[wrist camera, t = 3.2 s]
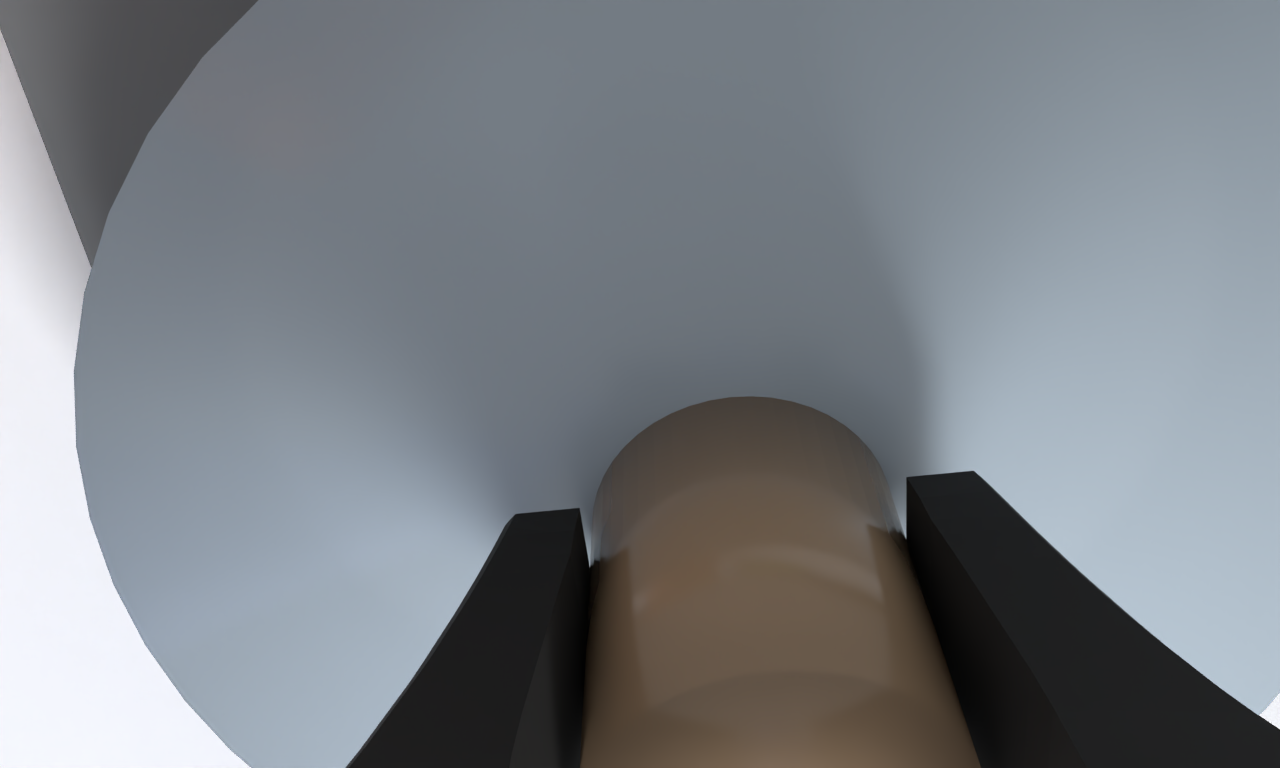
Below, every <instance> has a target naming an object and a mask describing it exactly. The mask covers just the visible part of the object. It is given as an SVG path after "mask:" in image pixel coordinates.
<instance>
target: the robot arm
mask: <svg viewBox="0 0 1280 768" xmlns="http://www.w3.org/2000/svg"><path fill="white" fill-rule="evenodd" d="M906 540H907V543H908V547H909V550H910V553H911V556H912V559H913V562H914V565H915V568H916V571H917V574H918V577H919V580H920V583H921V586H922V589H923V592H924V595H925V598H926V601H927V604H928V608H929V611H930V614H931V617H932V620H933V623H934V626H935V629H936V632H937V635H938V638H939V641H940V644H941V647H942V650H943V653H944V656H945V659H946V662H947V666H948V669H949V672H950V675H951V678H952V681H953V684H954V687H955V690H956V693H957V696H958V699H959V702H960V705H961V708H962V711H963V714H964V717H965V720H966V723H967V727H968V730H969V733H970V736H971V739H972V742H973V745H974V748H975V751H976V754H977V757H978V760H979V763H980V766H981V768H1280V729H1278V728H1277V727H1275V726H1274V725H1272V724H1271V723H1269V722H1268V721H1266V720H1265V719H1263V718H1262V717H1260V716H1259V715H1257V714H1256V713H1254V712H1253V711H1252V710H1250V709H1249V708H1247V707H1246V706H1245V705H1243V704H1242V703H1240V702H1239V701H1238V700H1236V699H1235V698H1234V697H1232V696H1231V695H1229V694H1228V693H1227V692H1225V691H1224V690H1222V689H1221V688H1220V687H1218V686H1217V685H1216V684H1214V683H1213V682H1212V681H1210V680H1209V679H1208V678H1207V677H1205V676H1204V675H1203V674H1202V673H1200V672H1199V671H1198V670H1196V669H1195V668H1194V667H1193V666H1191V665H1190V664H1189V663H1187V662H1186V661H1185V660H1184V659H1182V658H1181V657H1180V656H1179V655H1177V654H1176V653H1175V652H1173V651H1172V650H1171V649H1170V648H1168V647H1167V646H1166V645H1165V644H1163V643H1162V642H1161V641H1160V640H1159V639H1157V638H1156V637H1155V636H1154V635H1153V634H1151V633H1150V632H1149V631H1148V630H1147V629H1145V628H1144V627H1143V626H1142V625H1141V624H1139V623H1138V622H1137V621H1136V620H1135V619H1134V618H1132V617H1131V616H1130V615H1129V614H1128V613H1127V612H1126V611H1124V610H1123V609H1122V608H1121V607H1120V606H1119V605H1117V604H1116V603H1115V602H1114V601H1113V600H1112V599H1111V598H1109V597H1108V596H1107V595H1106V594H1105V593H1104V592H1103V591H1101V590H1100V589H1099V588H1098V587H1097V586H1096V585H1095V584H1093V583H1092V582H1091V581H1090V580H1089V579H1088V578H1087V577H1086V576H1084V575H1083V574H1082V573H1081V572H1080V571H1079V570H1078V569H1077V568H1076V567H1075V566H1073V565H1072V564H1071V563H1070V562H1069V561H1068V560H1067V559H1066V558H1065V557H1064V556H1063V555H1062V554H1061V553H1060V552H1058V551H1057V550H1056V549H1055V548H1054V547H1053V546H1052V545H1051V544H1050V543H1049V542H1048V541H1047V540H1046V539H1045V538H1044V537H1043V536H1042V535H1040V534H1039V533H1038V532H1037V531H1036V530H1035V529H1034V528H1033V527H1032V526H1031V525H1030V524H1029V523H1028V522H1027V521H1026V520H1025V519H1024V518H1023V517H1022V516H1021V515H1020V514H1019V513H1018V512H1017V511H1016V510H1015V509H1014V508H1013V507H1012V506H1011V505H1010V504H1009V503H1008V502H1007V501H1006V500H1005V499H1004V498H1003V497H1002V496H1001V495H1000V494H999V493H998V492H996V491H995V490H994V489H993V488H992V487H991V486H990V485H989V484H988V483H987V482H986V481H985V480H984V479H983V478H982V477H981V476H979V475H978V474H977V473H976V472H975V471H965V472H954V473H943V474H933V475H922V476H911V477H906ZM589 578H590V566H589V560H588V554H587V548H586V542H585V536H584V530H583V525H582V519H581V513H580V508H572V509H561V510H551V511H540V512H530V513H519V514H515V515H514V516H513V517H512V518H511V519H510V520H509V521H508V523H507V524H506V525H505V526H504V528H503V530H502V532H501V534H500V536H499V538H498V540H497V541H496V543H495V545H494V547H493V549H492V551H491V552H490V554H489V556H488V558H487V560H486V561H485V563H484V565H483V567H482V568H481V570H480V572H479V574H478V575H477V577H476V579H475V581H474V582H473V584H472V586H471V587H470V589H469V591H468V592H467V594H466V596H465V597H464V599H463V601H462V602H461V604H460V606H459V607H458V609H457V611H456V612H455V614H454V615H453V617H452V618H451V620H450V622H449V623H448V625H447V626H446V628H445V629H444V631H443V632H442V634H441V635H440V637H439V638H438V640H437V642H436V643H435V645H434V646H433V648H432V649H431V651H430V652H429V654H428V655H427V657H426V658H425V660H424V662H423V663H422V665H421V666H420V668H419V669H418V671H417V672H416V674H415V675H414V676H413V678H412V679H411V681H410V682H409V684H408V685H407V686H406V688H405V689H404V691H403V692H402V693H401V695H400V696H399V697H398V699H397V700H396V701H395V703H394V704H393V705H392V707H391V708H390V710H389V711H388V712H387V714H386V715H385V716H384V718H383V719H382V720H381V722H380V723H379V724H378V726H377V727H376V729H375V730H374V731H373V733H372V734H371V735H370V737H369V738H368V739H367V741H366V742H365V743H364V745H363V746H362V747H361V749H360V750H359V751H358V753H357V754H356V755H355V756H354V758H353V759H352V760H351V761H350V763H349V764H348V765H347V766H346V768H580V752H581V732H582V712H583V692H584V673H585V656H586V638H587V618H588V598H589Z"/></svg>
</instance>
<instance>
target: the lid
mask: <svg viewBox="0 0 1280 768" xmlns="http://www.w3.org/2000/svg"><path fill="white" fill-rule="evenodd" d="M74 389H75V420H76V448H77V453H78V458H79V463H80V469H81V474H82V479H83V484H84V489H85V495H86V500H87V505H88V510H89V516H90V520H91V522H92V525H93V528H94V531H95V534H96V536H97V539H98V542H99V545H100V548H101V551H102V553H103V556H104V559H105V562H106V565H107V567H108V570H109V573H110V576H111V579H112V582H113V584H114V586H115V588H116V590H117V592H118V594H119V596H120V598H121V600H122V601H123V603H124V605H125V607H126V609H127V611H128V613H129V615H130V617H131V619H132V621H133V622H134V624H135V626H136V628H137V630H138V632H139V634H140V636H141V638H142V640H143V641H144V643H145V645H146V647H147V648H148V649H149V651H150V652H151V654H152V655H153V656H154V658H155V659H156V661H157V662H158V664H159V665H160V666H161V668H162V669H163V671H164V672H165V673H166V675H167V676H168V678H169V679H170V680H171V682H172V683H173V685H174V686H175V687H176V689H177V690H178V692H179V693H180V694H181V696H182V697H183V699H184V700H185V701H186V702H187V703H188V704H189V706H190V707H191V708H192V709H193V710H194V711H195V712H196V713H197V714H198V715H199V716H200V717H201V719H202V720H203V721H204V722H205V723H206V724H207V725H208V726H209V727H210V728H211V729H212V730H213V732H214V733H215V734H216V735H217V736H218V737H219V738H220V739H221V740H222V741H223V742H224V743H225V745H226V746H227V747H228V748H229V749H230V750H231V751H232V752H234V753H235V754H236V755H237V756H238V757H239V758H241V759H242V760H243V761H244V762H245V763H246V764H248V765H249V766H250V767H251V768H346V766H347V765H348V764H349V763H350V761H351V760H352V759H353V758H354V756H355V755H356V754H357V753H358V751H359V750H360V749H361V747H362V746H363V745H364V743H365V742H366V741H367V739H368V738H369V737H370V735H371V734H372V733H373V731H374V730H375V729H376V727H377V726H378V724H379V723H380V722H381V720H382V719H383V718H384V716H385V715H386V714H387V712H388V711H389V710H390V708H391V707H392V705H393V704H394V703H395V701H396V700H397V699H398V697H399V696H400V695H401V693H402V692H403V691H404V689H405V688H406V686H407V685H408V684H409V682H410V681H411V679H412V678H413V676H414V675H415V674H416V672H417V671H418V669H419V668H420V666H421V665H422V663H423V662H424V660H425V658H426V657H427V655H428V654H429V652H430V651H431V649H432V648H433V646H434V645H435V643H436V642H437V640H438V638H439V637H440V635H441V634H442V632H443V631H444V629H445V628H446V626H447V625H448V623H449V622H450V620H451V618H452V617H453V615H454V614H455V612H456V611H457V609H458V607H459V606H460V604H461V602H462V601H463V599H464V597H465V596H466V594H467V592H468V591H469V589H470V587H471V586H472V584H473V582H474V581H475V579H476V577H477V575H478V574H479V572H480V570H481V568H482V567H483V565H484V563H485V561H486V560H487V558H488V556H489V554H490V552H491V551H492V549H493V547H494V545H495V543H496V541H497V540H498V538H499V536H500V534H501V532H502V530H503V528H504V526H505V525H506V524H507V523H508V521H509V520H510V519H511V518H512V517H513V516H514V515H515V514H519V513H530V512H540V511H551V510H561V509H572V508H580V513H581V519H582V525H583V530H584V536H585V542H586V548H587V554H588V560H589V566H590V578H589V598H588V618H587V638H586V656H585V673H584V692H583V712H582V732H581V752H580V768H981V766H980V763H979V760H978V757H977V754H976V751H975V748H974V745H973V742H972V739H971V736H970V733H969V730H968V727H967V723H966V720H965V717H964V714H963V711H962V708H961V705H960V702H959V699H958V696H957V693H956V690H955V687H954V684H953V681H952V678H951V675H950V672H949V669H948V666H947V662H946V659H945V656H944V653H943V650H942V647H941V644H940V641H939V638H938V635H937V632H936V629H935V626H934V623H933V620H932V617H931V614H930V611H929V608H928V604H927V601H926V598H925V595H924V592H923V589H922V586H921V583H920V580H919V577H918V574H917V571H916V568H915V565H914V562H913V559H912V556H911V553H910V550H909V547H908V543H907V540H906V477H911V476H922V475H933V474H943V473H954V472H965V471H975V472H976V473H977V474H978V475H979V476H981V477H982V478H983V479H984V480H985V481H986V482H987V483H988V484H989V485H990V486H991V487H992V488H993V489H994V490H995V491H996V492H998V493H999V494H1000V495H1001V496H1002V497H1003V498H1004V499H1005V500H1006V501H1007V502H1008V503H1009V504H1010V505H1011V506H1012V507H1013V508H1014V509H1015V510H1016V511H1017V512H1018V513H1019V514H1020V515H1021V516H1022V517H1023V518H1024V519H1025V520H1026V521H1027V522H1028V523H1029V524H1030V525H1031V526H1032V527H1033V528H1034V529H1035V530H1036V531H1037V532H1038V533H1039V534H1040V535H1042V536H1043V537H1044V538H1045V539H1046V540H1047V541H1048V542H1049V543H1050V544H1051V545H1052V546H1053V547H1054V548H1055V549H1056V550H1057V551H1058V552H1060V553H1061V554H1062V555H1063V556H1064V557H1065V558H1066V559H1067V560H1068V561H1069V562H1070V563H1071V564H1072V565H1073V566H1075V567H1076V568H1077V569H1078V570H1079V571H1080V572H1081V573H1082V574H1083V575H1084V576H1086V577H1087V578H1088V579H1089V580H1090V581H1091V582H1092V583H1093V584H1095V585H1096V586H1097V587H1098V588H1099V589H1100V590H1101V591H1103V592H1104V593H1105V594H1106V595H1107V596H1108V597H1109V598H1111V599H1112V600H1113V601H1114V602H1115V603H1116V604H1117V605H1119V606H1120V607H1121V608H1122V609H1123V610H1124V611H1126V612H1127V613H1128V614H1129V615H1130V616H1131V617H1132V618H1134V619H1135V620H1136V621H1137V622H1138V623H1139V624H1141V625H1142V626H1143V627H1144V628H1145V629H1147V630H1148V631H1149V632H1150V633H1151V634H1153V635H1154V636H1155V637H1156V638H1157V639H1159V640H1160V641H1161V642H1162V643H1163V644H1165V645H1166V646H1167V647H1168V648H1170V649H1171V650H1172V651H1173V652H1175V653H1176V654H1177V655H1179V656H1180V657H1181V658H1182V659H1184V660H1185V661H1186V662H1187V663H1189V664H1190V665H1191V666H1193V667H1194V668H1195V669H1196V670H1198V671H1199V672H1200V673H1202V674H1203V675H1204V676H1205V677H1207V678H1208V679H1209V680H1210V681H1212V682H1213V683H1214V684H1216V685H1217V686H1218V687H1220V688H1221V689H1222V690H1224V691H1225V692H1227V693H1228V694H1229V695H1231V696H1232V697H1234V698H1235V699H1236V700H1238V701H1239V702H1240V703H1242V704H1243V705H1245V706H1246V707H1247V708H1249V709H1250V710H1252V711H1253V712H1254V713H1256V714H1257V715H1260V714H1261V713H1262V712H1263V711H1264V710H1265V709H1266V708H1267V707H1268V706H1269V704H1270V703H1271V702H1272V701H1273V700H1274V699H1275V697H1276V696H1277V695H1278V694H1279V693H1280V0H258V1H257V2H256V3H255V4H254V5H253V6H252V7H251V9H250V10H249V11H248V12H247V13H246V14H245V15H244V16H243V17H242V18H241V19H240V20H239V21H238V22H237V23H236V24H235V25H234V26H233V27H232V28H231V29H230V30H229V31H228V32H227V33H226V34H225V35H224V36H223V37H222V38H221V39H220V40H219V41H218V42H217V43H216V44H215V45H214V46H213V47H212V48H211V49H210V50H209V51H208V52H207V53H206V54H205V55H204V56H203V57H202V59H201V60H200V61H199V63H198V64H197V66H196V67H195V68H194V70H193V71H192V73H191V74H190V75H189V77H188V78H187V80H186V81H185V82H184V84H183V85H182V87H181V88H180V89H179V91H178V92H177V94H176V95H175V96H174V98H173V99H172V101H171V102H170V103H169V105H168V106H167V108H166V109H165V110H164V112H163V113H162V115H161V116H160V117H159V119H158V120H157V122H156V123H155V124H154V126H153V127H152V129H151V130H150V131H149V133H148V134H147V136H146V138H145V141H144V143H143V145H142V147H141V149H140V151H139V153H138V155H137V157H136V159H135V161H134V163H133V165H132V167H131V169H130V171H129V173H128V175H127V177H126V179H125V181H124V183H123V185H122V187H121V189H120V191H119V193H118V195H117V197H116V199H115V201H114V203H113V205H112V207H111V209H110V211H109V213H108V217H107V220H106V223H105V227H104V230H103V233H102V236H101V240H100V243H99V246H98V250H97V253H96V256H95V259H94V263H93V266H92V269H91V273H90V276H89V279H88V282H87V286H86V289H85V292H84V299H83V307H82V314H81V322H80V329H79V337H78V345H77V352H76V360H75V367H74Z"/></svg>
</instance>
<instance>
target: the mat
mask: <svg viewBox="0 0 1280 768" xmlns="http://www.w3.org/2000/svg"><path fill="white" fill-rule="evenodd" d="M257 1H258V0H0V29H1V32H2V35H3V37H4V40H5V42H6V45H7V48H8V50H9V53H10V56H11V58H12V61H13V63H14V66H15V69H16V71H17V74H18V76H19V79H20V82H21V84H22V87H23V90H24V92H25V95H26V97H27V100H28V103H29V105H30V108H31V110H32V113H33V116H34V118H35V121H36V124H37V126H38V129H39V131H40V134H41V137H42V139H43V142H44V144H45V147H46V150H47V152H48V155H49V158H50V160H51V163H52V165H53V168H54V171H55V173H56V176H57V179H58V181H59V184H60V186H61V189H62V192H63V194H64V197H65V199H66V202H67V205H68V207H69V210H70V213H71V215H72V218H73V220H74V223H75V226H76V228H77V231H78V233H79V236H80V239H81V241H82V244H83V247H84V249H85V252H86V254H87V257H88V260H89V262H90V265H91V267H92V266H93V263H94V259H95V256H96V253H97V250H98V246H99V243H100V240H101V236H102V233H103V230H104V227H105V223H106V220H107V217H108V213H109V211H110V209H111V207H112V205H113V203H114V201H115V199H116V197H117V195H118V193H119V191H120V189H121V187H122V185H123V183H124V181H125V179H126V177H127V175H128V173H129V171H130V169H131V167H132V165H133V163H134V161H135V159H136V157H137V155H138V153H139V151H140V149H141V147H142V145H143V143H144V141H145V138H146V136H147V134H148V133H149V131H150V130H151V129H152V127H153V126H154V124H155V123H156V122H157V120H158V119H159V117H160V116H161V115H162V113H163V112H164V110H165V109H166V108H167V106H168V105H169V103H170V102H171V101H172V99H173V98H174V96H175V95H176V94H177V92H178V91H179V89H180V88H181V87H182V85H183V84H184V82H185V81H186V80H187V78H188V77H189V75H190V74H191V73H192V71H193V70H194V68H195V67H196V66H197V64H198V63H199V61H200V60H201V59H202V57H203V56H204V55H205V54H206V53H207V52H208V51H209V50H210V49H211V48H212V47H213V46H214V45H215V44H216V43H217V42H218V41H219V40H220V39H221V38H222V37H223V36H224V35H225V34H226V33H227V32H228V31H229V30H230V29H231V28H232V27H233V26H234V25H235V24H236V23H237V22H238V21H239V20H240V19H241V18H242V17H243V16H244V15H245V14H246V13H247V12H248V11H249V10H250V9H251V7H252V6H253V5H254V4H255V3H256V2H257Z"/></svg>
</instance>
